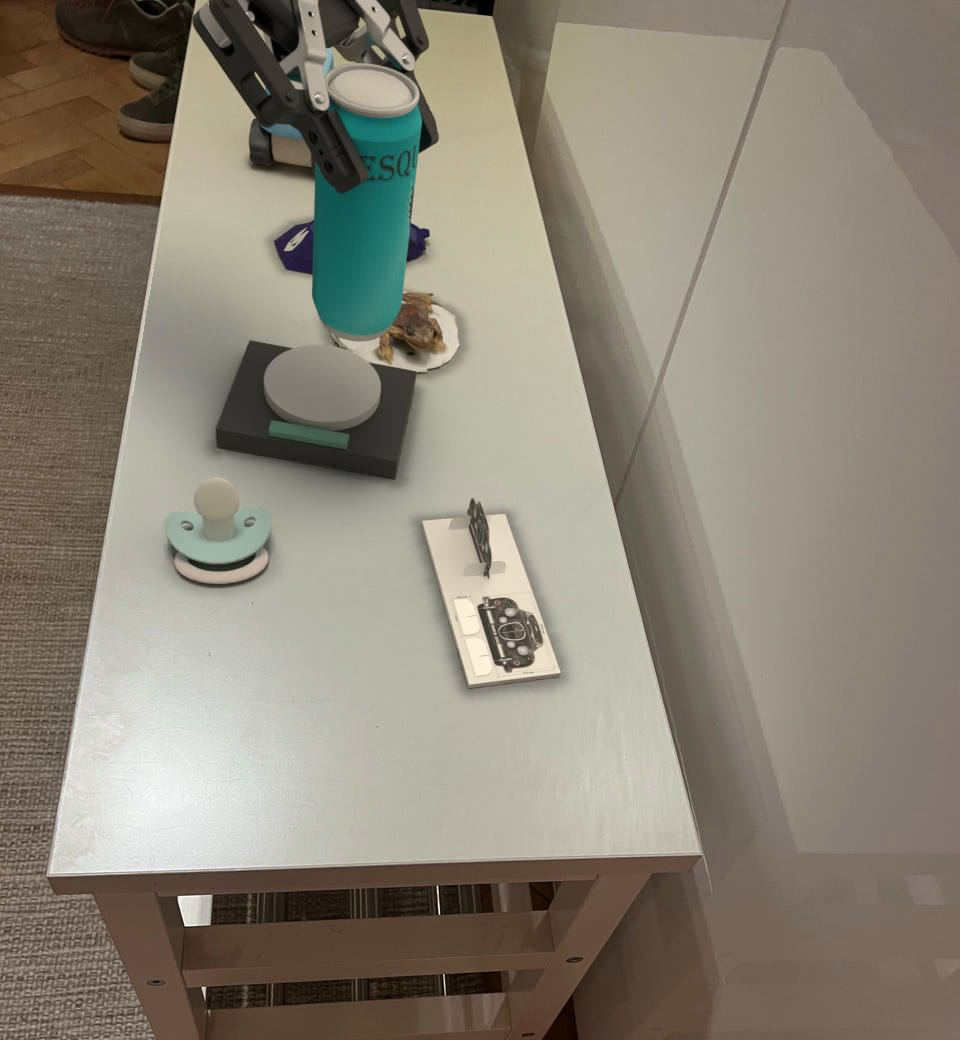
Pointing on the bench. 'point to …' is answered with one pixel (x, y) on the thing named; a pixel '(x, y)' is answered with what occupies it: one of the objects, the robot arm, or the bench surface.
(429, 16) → the bench surface
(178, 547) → the pacifier
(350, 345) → the frog figurine
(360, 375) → the scale
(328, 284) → the beverage can
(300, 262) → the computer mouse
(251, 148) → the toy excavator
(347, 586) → the bench surface
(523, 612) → the car cutout
